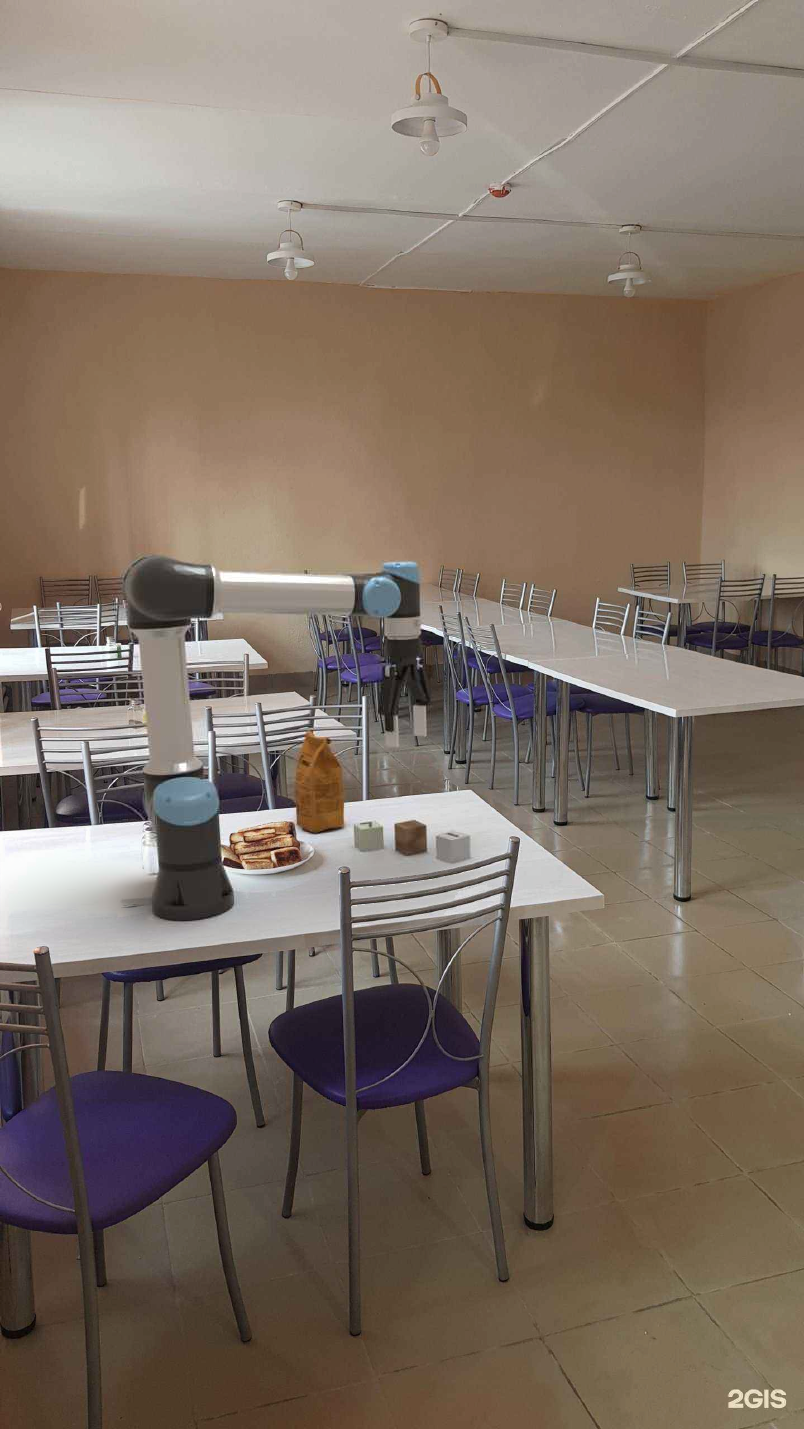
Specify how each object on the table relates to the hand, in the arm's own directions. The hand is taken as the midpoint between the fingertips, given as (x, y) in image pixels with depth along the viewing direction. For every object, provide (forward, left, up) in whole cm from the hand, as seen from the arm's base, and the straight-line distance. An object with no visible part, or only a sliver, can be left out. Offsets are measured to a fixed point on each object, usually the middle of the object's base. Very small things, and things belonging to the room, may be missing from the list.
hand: (406, 741), depth 223 cm
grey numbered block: (+5, -9, -24) cm, 26 cm away
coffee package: (-8, +29, -24) cm, 38 cm away
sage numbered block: (-6, +8, -24) cm, 26 cm away
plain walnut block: (0, 0, -24) cm, 24 cm away
